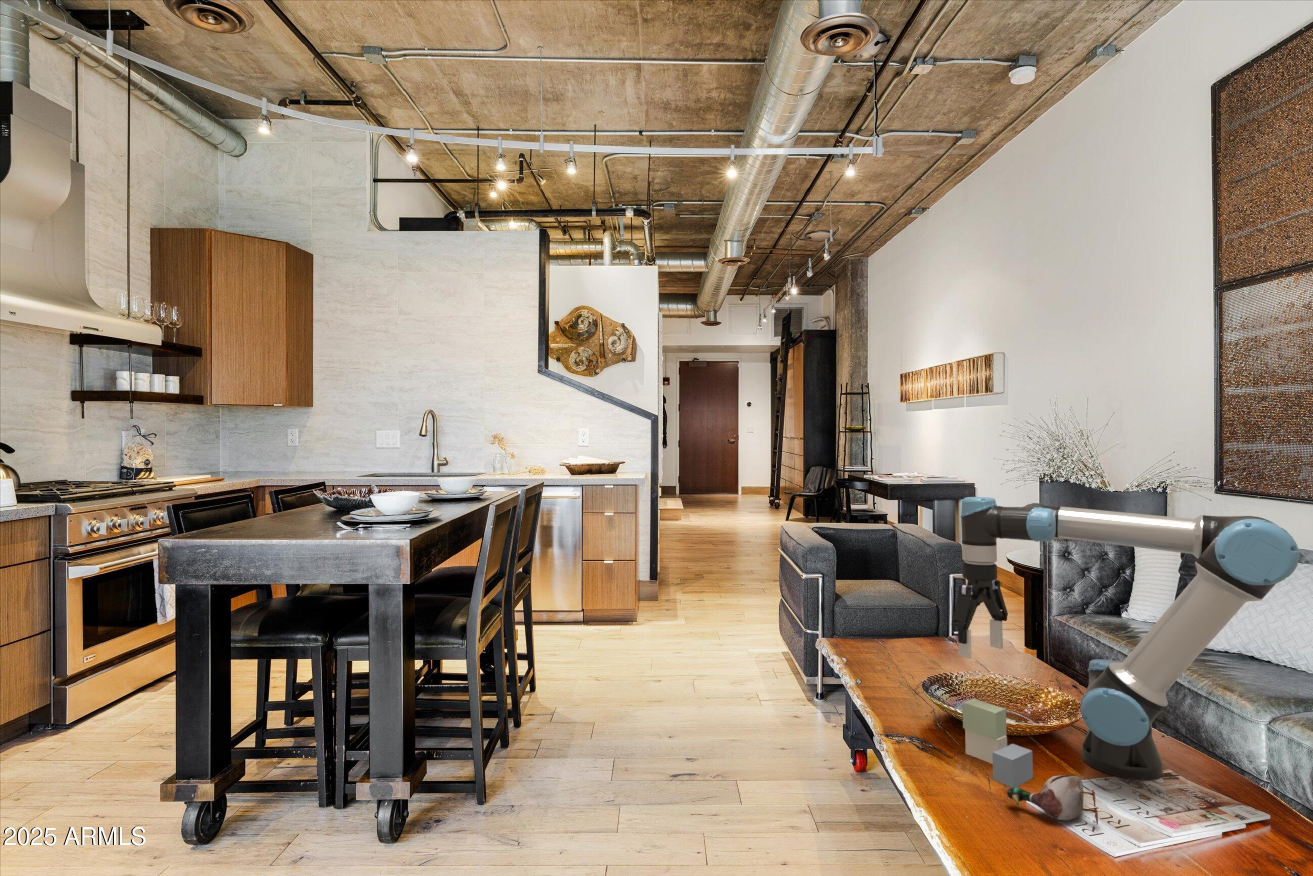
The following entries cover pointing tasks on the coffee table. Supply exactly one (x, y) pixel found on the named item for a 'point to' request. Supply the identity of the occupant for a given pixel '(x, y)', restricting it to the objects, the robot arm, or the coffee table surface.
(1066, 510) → the robot arm
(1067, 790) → the decorative duck model
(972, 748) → the cream block
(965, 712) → the sage block
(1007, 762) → the slate block
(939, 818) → the coffee table surface
